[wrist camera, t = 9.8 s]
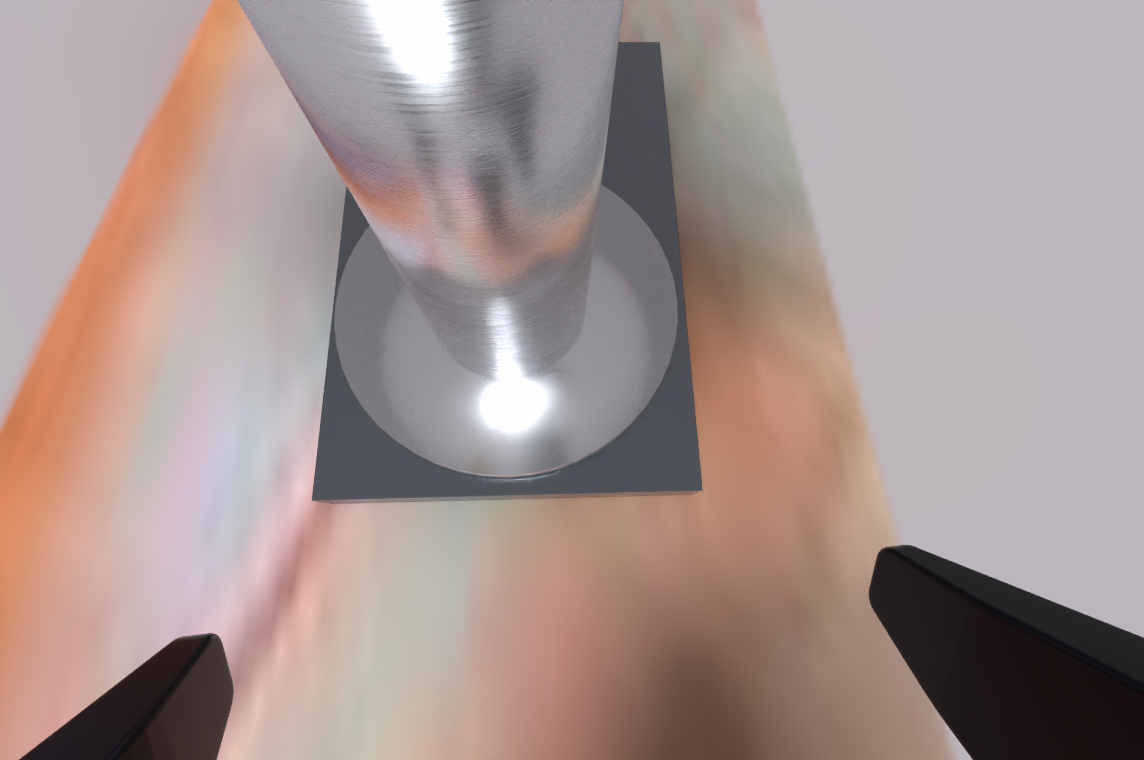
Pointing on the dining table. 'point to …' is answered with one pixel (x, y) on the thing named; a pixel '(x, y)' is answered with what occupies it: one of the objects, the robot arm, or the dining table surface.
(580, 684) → the dining table surface
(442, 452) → the stand
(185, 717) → the robot arm
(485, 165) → the silver metal bottle
